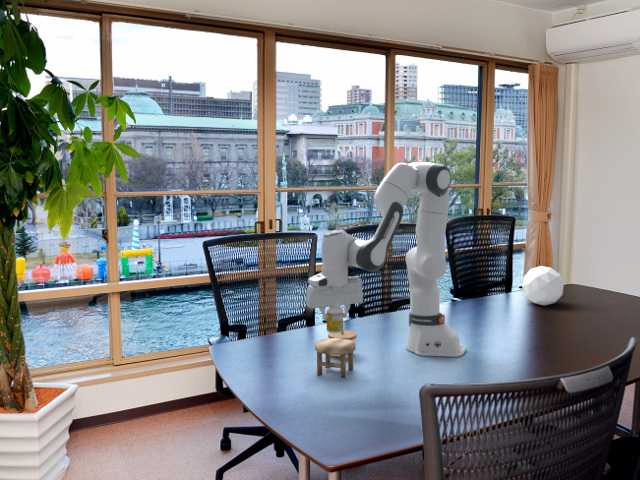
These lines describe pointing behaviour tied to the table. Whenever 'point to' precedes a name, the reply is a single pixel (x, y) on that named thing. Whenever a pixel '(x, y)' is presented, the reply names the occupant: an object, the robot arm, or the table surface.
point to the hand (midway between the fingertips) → (334, 318)
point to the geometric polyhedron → (543, 285)
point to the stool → (335, 354)
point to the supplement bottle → (335, 319)
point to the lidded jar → (344, 335)
